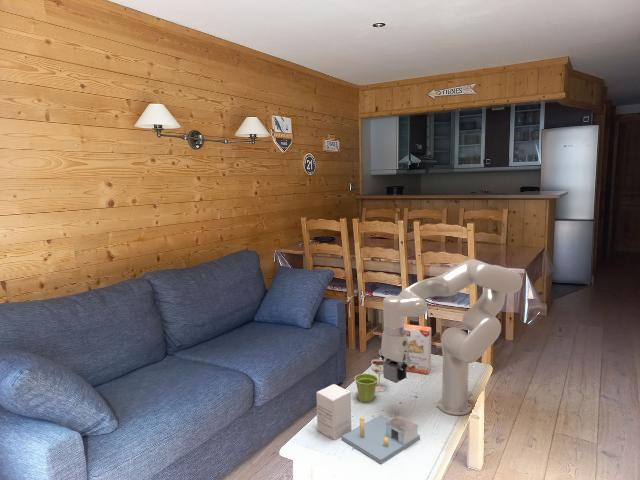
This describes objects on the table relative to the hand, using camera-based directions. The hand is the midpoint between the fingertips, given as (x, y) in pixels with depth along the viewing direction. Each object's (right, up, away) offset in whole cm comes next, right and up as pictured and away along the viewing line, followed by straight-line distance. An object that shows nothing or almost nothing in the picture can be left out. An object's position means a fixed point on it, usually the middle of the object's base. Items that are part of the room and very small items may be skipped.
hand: (395, 375), depth 171 cm
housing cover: (0, -17, -13) cm, 21 cm away
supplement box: (-23, -18, -6) cm, 30 cm away
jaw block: (0, -1, 0) cm, 1 cm away
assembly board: (-7, -18, -12) cm, 23 cm away
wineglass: (-3, -13, +24) cm, 27 cm away
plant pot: (-9, -14, +16) cm, 23 cm away
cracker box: (+15, -10, +40) cm, 44 cm away
